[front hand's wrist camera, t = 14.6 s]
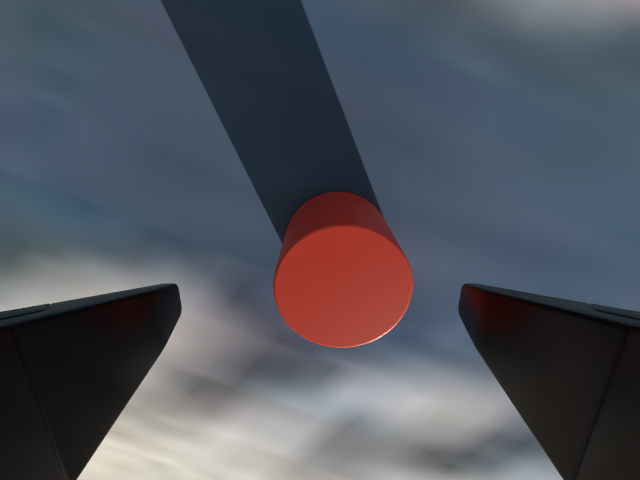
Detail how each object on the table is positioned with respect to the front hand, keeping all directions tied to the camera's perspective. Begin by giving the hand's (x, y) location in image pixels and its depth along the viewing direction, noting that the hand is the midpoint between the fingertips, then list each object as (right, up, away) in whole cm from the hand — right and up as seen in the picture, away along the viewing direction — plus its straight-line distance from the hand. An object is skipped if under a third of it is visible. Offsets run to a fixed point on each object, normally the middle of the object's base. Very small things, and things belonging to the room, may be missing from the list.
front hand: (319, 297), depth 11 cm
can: (+1, +2, +5) cm, 6 cm away
